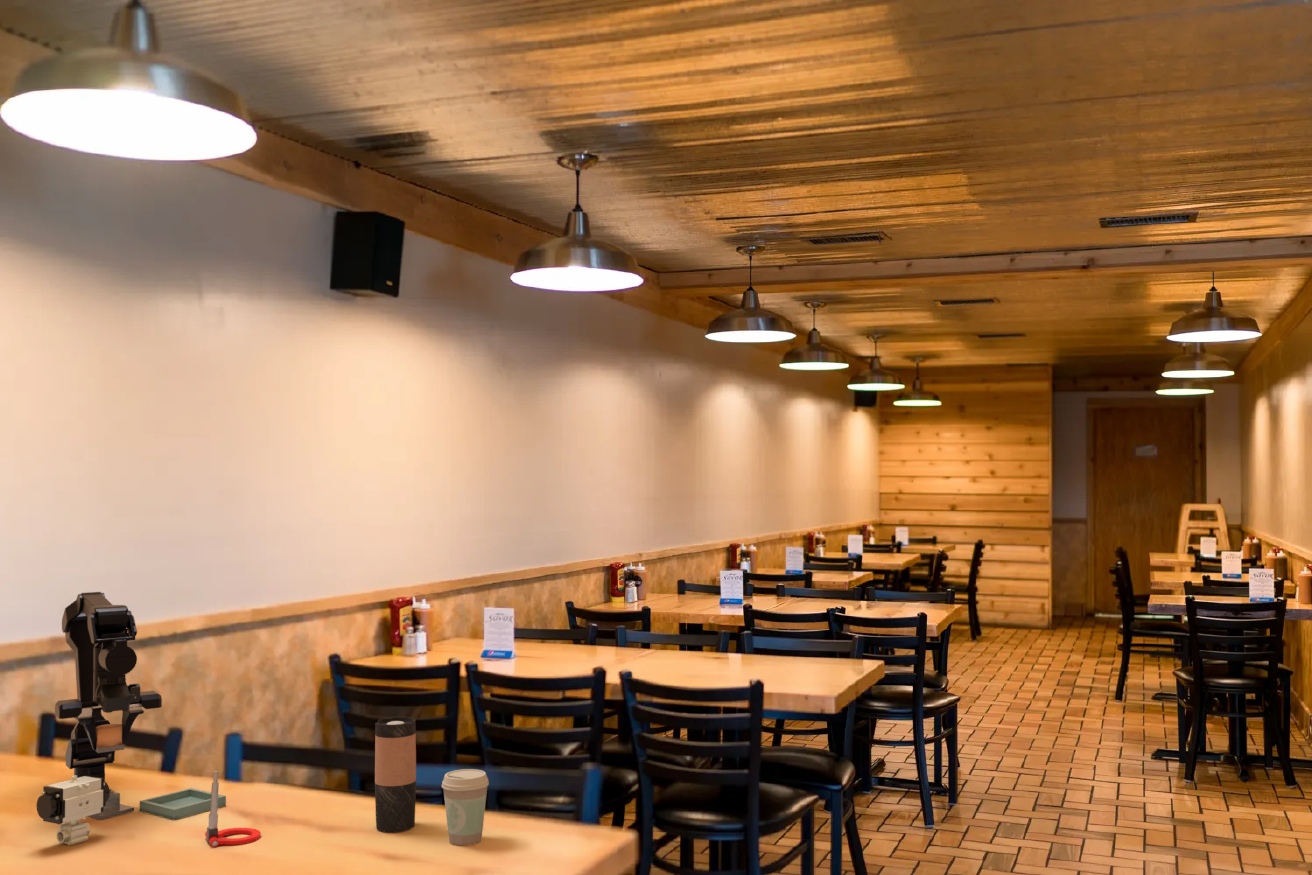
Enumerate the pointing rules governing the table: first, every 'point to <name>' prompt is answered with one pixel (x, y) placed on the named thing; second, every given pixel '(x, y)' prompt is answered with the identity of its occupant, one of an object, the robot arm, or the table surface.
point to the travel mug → (395, 774)
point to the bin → (180, 804)
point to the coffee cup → (465, 805)
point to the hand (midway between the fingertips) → (108, 747)
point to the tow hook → (215, 835)
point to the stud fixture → (113, 808)
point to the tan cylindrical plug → (109, 738)
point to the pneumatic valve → (73, 806)
